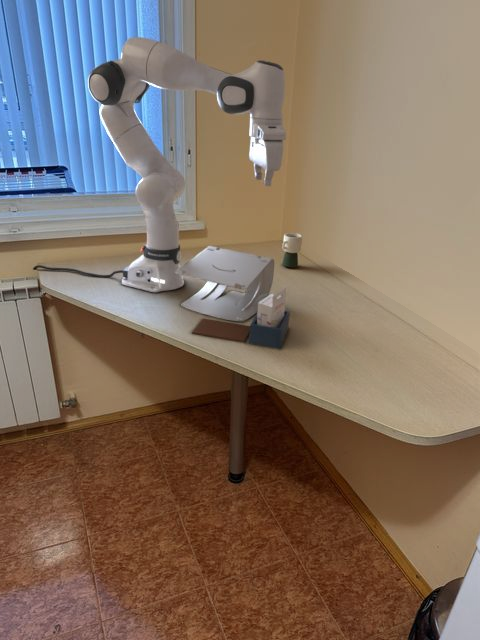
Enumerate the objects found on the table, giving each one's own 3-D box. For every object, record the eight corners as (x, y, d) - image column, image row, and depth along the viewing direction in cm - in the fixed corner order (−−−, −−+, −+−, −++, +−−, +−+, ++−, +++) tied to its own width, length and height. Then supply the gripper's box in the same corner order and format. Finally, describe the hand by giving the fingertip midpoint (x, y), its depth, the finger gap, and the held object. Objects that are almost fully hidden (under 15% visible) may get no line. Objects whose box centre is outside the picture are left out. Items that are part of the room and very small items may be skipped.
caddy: (248, 343, 140) (250, 324, 137) (259, 324, 151) (260, 306, 148) (279, 348, 138) (281, 330, 135) (288, 329, 149) (290, 311, 146)
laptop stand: (274, 300, 167) (278, 256, 160) (242, 325, 149) (245, 278, 142) (210, 284, 178) (211, 243, 170) (174, 306, 160) (173, 261, 152)
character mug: (292, 261, 204) (295, 230, 197) (305, 266, 199) (309, 235, 193) (274, 266, 197) (277, 235, 191) (287, 271, 193) (290, 239, 186)
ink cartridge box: (268, 328, 148) (272, 283, 141) (283, 332, 146) (287, 287, 139) (254, 339, 142) (258, 292, 135) (269, 344, 140) (273, 296, 133)
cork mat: (191, 333, 144) (191, 332, 143) (202, 319, 152) (202, 318, 152) (244, 342, 140) (244, 340, 140) (252, 327, 148) (252, 326, 148)
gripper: (245, 126, 141) (243, 176, 147) (264, 133, 123) (261, 189, 130) (266, 126, 142) (263, 176, 149) (288, 133, 125) (283, 189, 131)
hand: (262, 182), depth 139 cm, fingers open, 8 cm apart
